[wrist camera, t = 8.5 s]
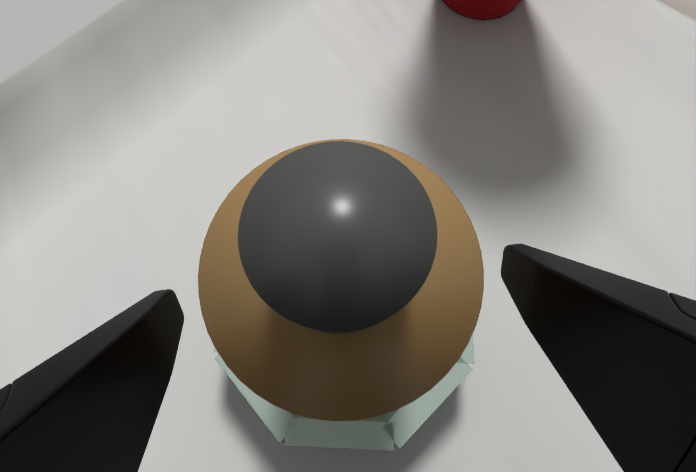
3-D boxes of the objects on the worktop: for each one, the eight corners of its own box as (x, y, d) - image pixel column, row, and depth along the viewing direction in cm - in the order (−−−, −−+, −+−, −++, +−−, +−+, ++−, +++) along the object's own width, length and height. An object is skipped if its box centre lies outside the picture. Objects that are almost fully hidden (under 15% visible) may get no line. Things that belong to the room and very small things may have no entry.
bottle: (397, 369, 16) (578, 479, 3) (289, 364, 16) (76, 453, 3) (397, 263, 17) (525, 66, 5) (298, 259, 17) (171, 54, 5)
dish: (462, 439, 16) (479, 454, 13) (219, 428, 16) (200, 441, 14) (450, 211, 19) (463, 195, 17) (250, 203, 19) (238, 187, 17)
